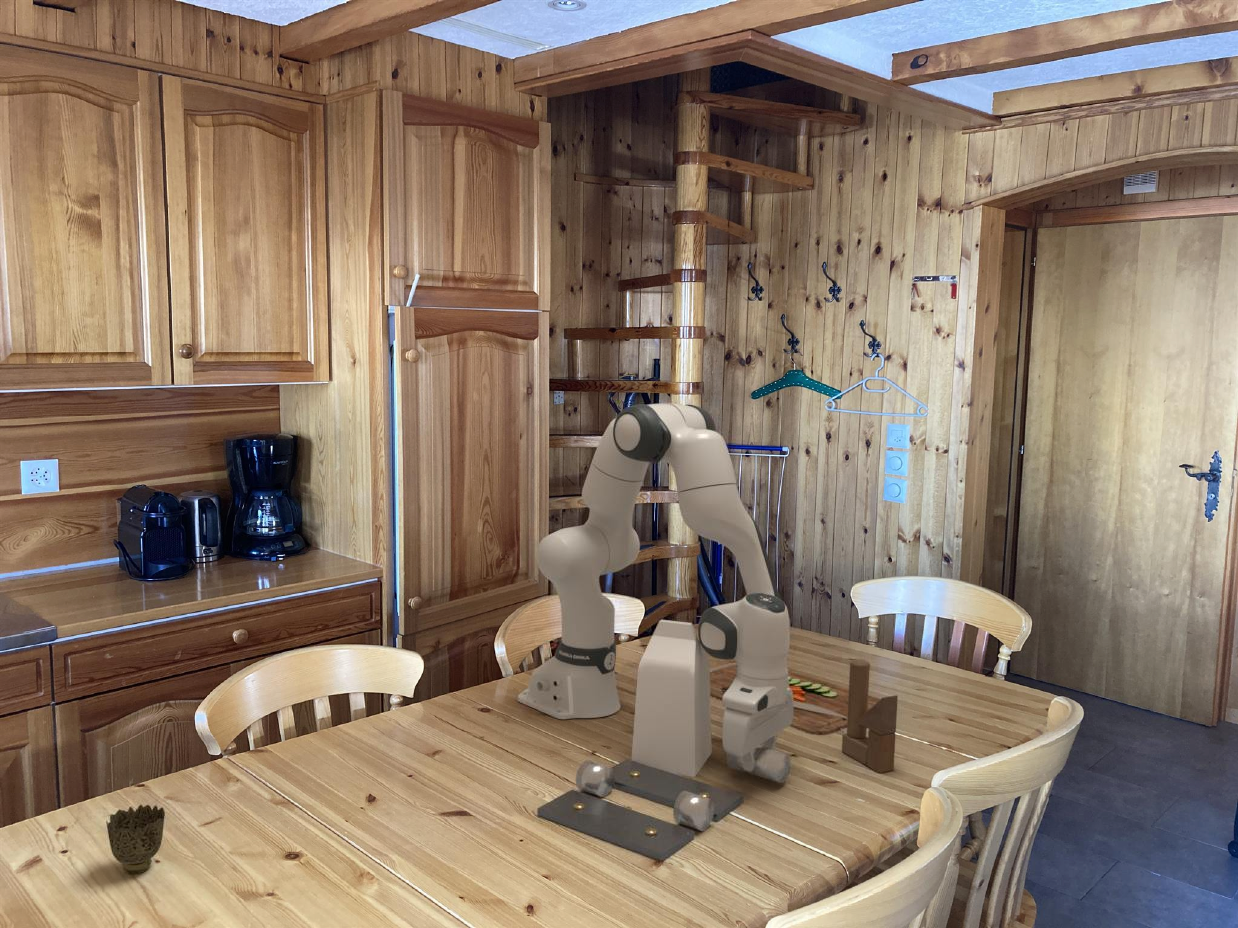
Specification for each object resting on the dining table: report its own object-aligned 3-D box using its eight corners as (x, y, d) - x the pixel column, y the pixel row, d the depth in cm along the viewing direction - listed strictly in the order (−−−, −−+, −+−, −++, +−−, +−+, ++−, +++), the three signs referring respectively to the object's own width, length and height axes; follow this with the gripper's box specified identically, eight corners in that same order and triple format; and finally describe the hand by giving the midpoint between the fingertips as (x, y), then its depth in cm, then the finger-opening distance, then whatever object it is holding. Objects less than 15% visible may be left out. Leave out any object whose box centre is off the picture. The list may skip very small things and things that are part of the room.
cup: (121, 856, 144) (119, 803, 143) (173, 855, 145) (172, 802, 144) (99, 883, 137) (97, 828, 136) (154, 882, 138) (152, 827, 137)
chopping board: (908, 714, 211) (908, 700, 211) (829, 744, 194) (830, 728, 193) (749, 661, 245) (750, 649, 245) (671, 683, 228) (671, 670, 227)
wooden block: (878, 773, 179) (883, 677, 177) (840, 752, 188) (845, 659, 186) (894, 770, 180) (899, 674, 178) (856, 749, 190) (860, 657, 188)
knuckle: (726, 771, 176) (727, 744, 175) (739, 762, 180) (740, 735, 180) (777, 786, 170) (778, 759, 170) (789, 777, 174) (791, 749, 174)
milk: (631, 766, 180) (634, 626, 177) (650, 743, 191) (654, 611, 188) (694, 776, 176) (699, 634, 173) (711, 753, 187) (715, 618, 184)
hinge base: (537, 815, 160) (537, 785, 159) (626, 765, 180) (627, 738, 180) (662, 861, 146) (663, 829, 145) (743, 801, 166) (744, 773, 166)
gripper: (772, 669, 184) (769, 741, 185) (717, 699, 167) (713, 777, 169) (804, 676, 180) (800, 749, 182) (750, 707, 163) (746, 787, 165)
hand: (758, 763), depth 175 cm, fingers closed on knuckle, 5 cm apart
